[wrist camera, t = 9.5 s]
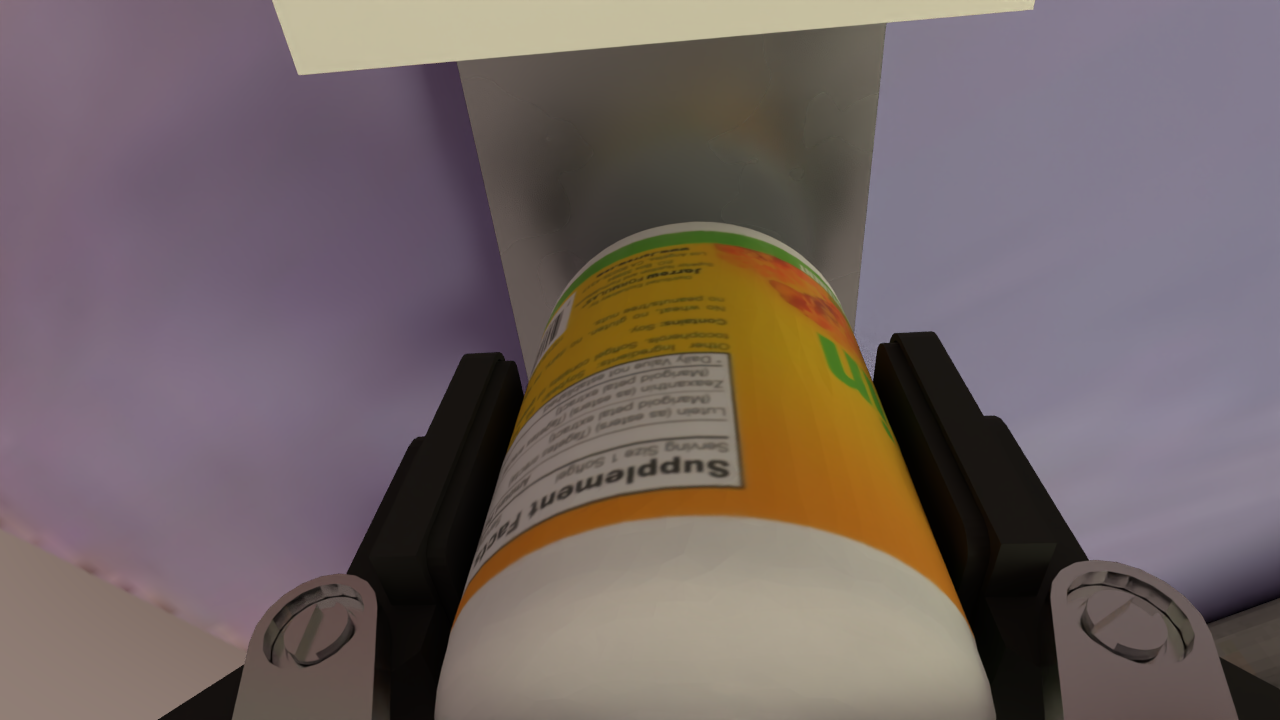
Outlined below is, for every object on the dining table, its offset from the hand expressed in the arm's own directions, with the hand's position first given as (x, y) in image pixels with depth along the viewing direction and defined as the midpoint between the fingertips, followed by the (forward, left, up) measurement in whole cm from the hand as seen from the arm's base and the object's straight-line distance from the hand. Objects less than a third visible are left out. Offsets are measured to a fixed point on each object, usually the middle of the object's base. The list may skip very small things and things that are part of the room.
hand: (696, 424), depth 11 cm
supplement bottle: (0, 0, -2) cm, 2 cm away
